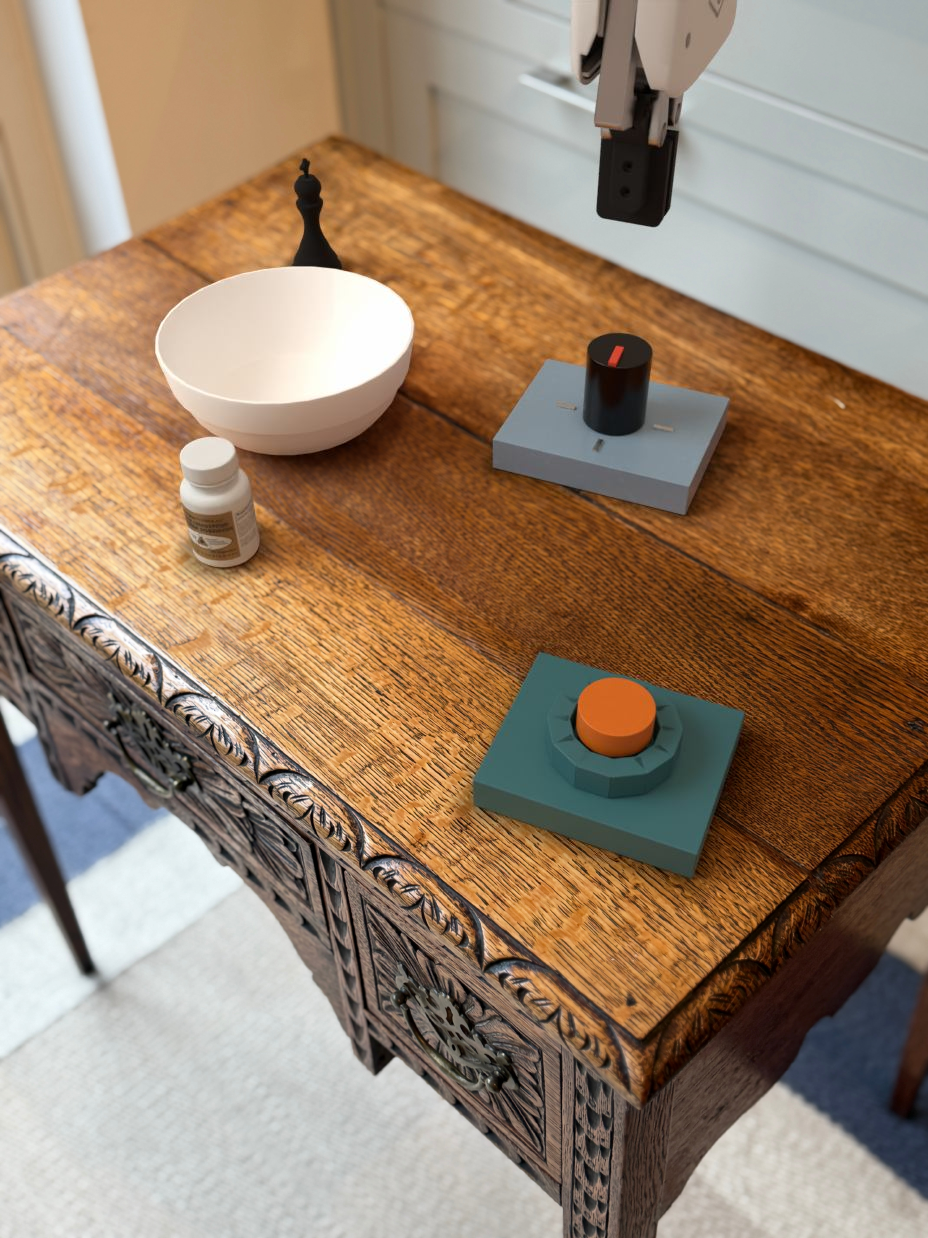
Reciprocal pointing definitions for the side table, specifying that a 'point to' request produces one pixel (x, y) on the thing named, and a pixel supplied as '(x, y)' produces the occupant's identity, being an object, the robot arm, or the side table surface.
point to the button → (615, 717)
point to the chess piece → (312, 224)
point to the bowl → (287, 356)
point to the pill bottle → (217, 503)
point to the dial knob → (617, 383)
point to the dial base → (612, 441)
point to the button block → (610, 769)
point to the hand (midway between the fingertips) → (632, 214)
